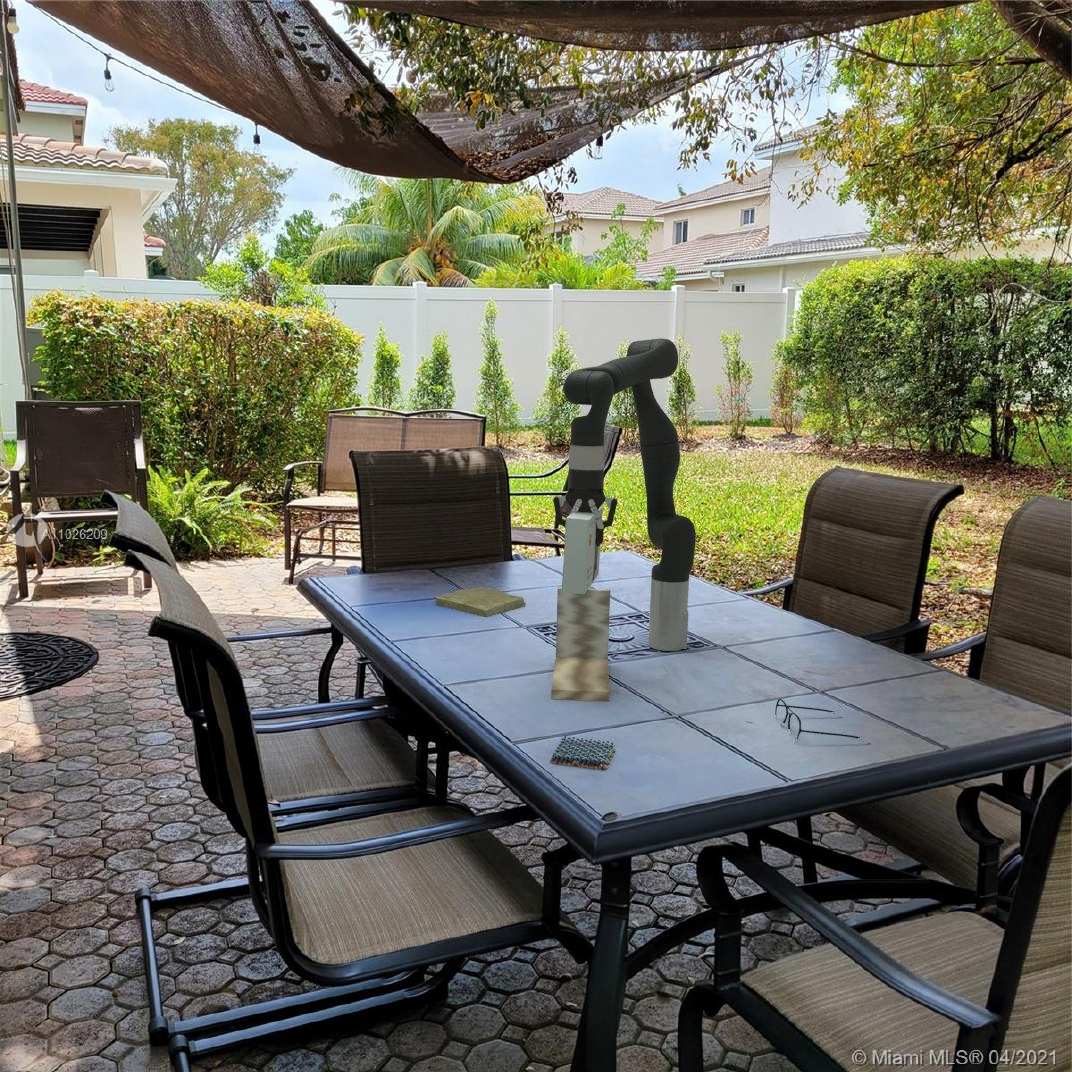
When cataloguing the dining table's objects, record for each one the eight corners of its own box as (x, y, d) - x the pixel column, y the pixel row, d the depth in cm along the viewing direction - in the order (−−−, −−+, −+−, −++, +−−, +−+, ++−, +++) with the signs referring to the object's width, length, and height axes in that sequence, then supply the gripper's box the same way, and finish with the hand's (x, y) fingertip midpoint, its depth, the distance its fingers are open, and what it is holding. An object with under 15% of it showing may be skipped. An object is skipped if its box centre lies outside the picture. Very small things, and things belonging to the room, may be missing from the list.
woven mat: (617, 751, 180) (617, 740, 180) (606, 773, 170) (607, 762, 169) (561, 744, 182) (561, 733, 182) (547, 766, 172) (548, 755, 172)
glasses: (772, 719, 198) (777, 695, 197) (843, 727, 199) (848, 704, 198) (796, 746, 184) (801, 721, 183) (872, 755, 185) (877, 730, 184)
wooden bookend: (607, 665, 229) (610, 589, 226) (609, 701, 205) (612, 616, 202) (555, 662, 230) (557, 587, 227) (551, 698, 205) (553, 614, 202)
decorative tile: (486, 619, 269) (486, 606, 269) (434, 606, 282) (434, 594, 281) (530, 607, 284) (530, 595, 283) (479, 595, 296) (479, 584, 296)
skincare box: (587, 595, 203) (589, 519, 200) (561, 594, 204) (562, 517, 201) (601, 574, 223) (603, 505, 220) (577, 573, 224) (579, 503, 221)
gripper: (620, 465, 212) (617, 543, 215) (553, 463, 213) (551, 541, 216) (620, 469, 205) (617, 549, 208) (551, 467, 206) (549, 547, 209)
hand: (583, 544), depth 212 cm, fingers closed on skincare box, 5 cm apart
